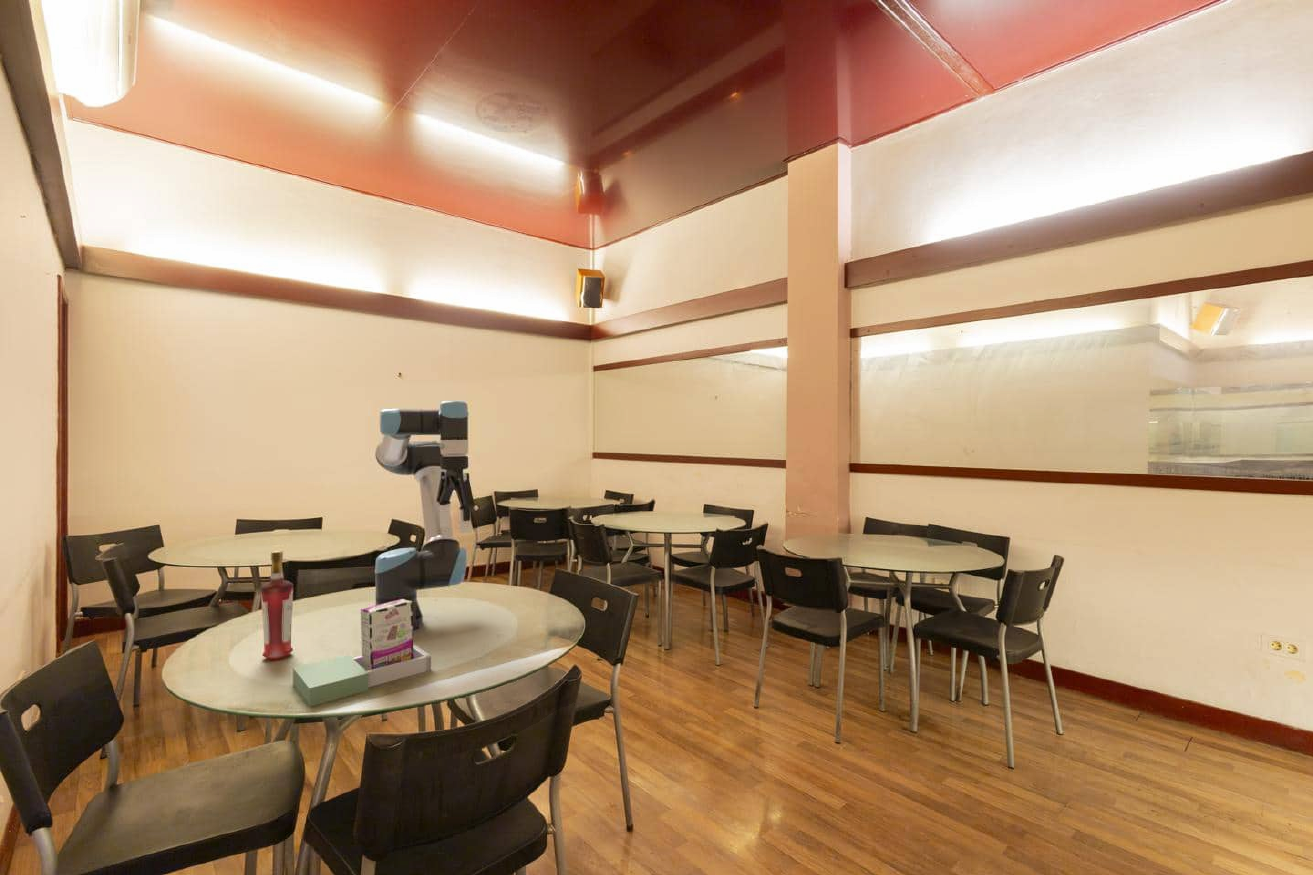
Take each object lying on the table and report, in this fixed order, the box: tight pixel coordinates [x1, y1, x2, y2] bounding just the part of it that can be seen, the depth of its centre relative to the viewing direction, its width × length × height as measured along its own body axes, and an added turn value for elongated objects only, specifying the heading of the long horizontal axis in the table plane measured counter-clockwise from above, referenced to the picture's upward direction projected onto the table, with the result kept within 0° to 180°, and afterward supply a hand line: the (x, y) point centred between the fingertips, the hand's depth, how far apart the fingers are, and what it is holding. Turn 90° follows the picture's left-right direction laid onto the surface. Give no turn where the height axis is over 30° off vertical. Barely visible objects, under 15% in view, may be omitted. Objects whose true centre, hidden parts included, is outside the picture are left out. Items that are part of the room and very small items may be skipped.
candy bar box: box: [360, 599, 414, 671], centre depth 147 cm, size 11×5×16 cm, turn 144°
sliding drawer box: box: [292, 643, 432, 708], centre depth 143 cm, size 16×27×4 cm, turn 133°
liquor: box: [260, 550, 294, 661], centre depth 157 cm, size 7×7×28 cm
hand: (455, 529), depth 169 cm, fingers open, 13 cm apart
